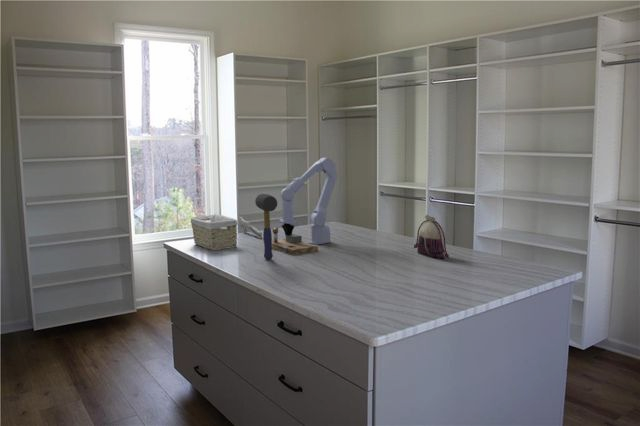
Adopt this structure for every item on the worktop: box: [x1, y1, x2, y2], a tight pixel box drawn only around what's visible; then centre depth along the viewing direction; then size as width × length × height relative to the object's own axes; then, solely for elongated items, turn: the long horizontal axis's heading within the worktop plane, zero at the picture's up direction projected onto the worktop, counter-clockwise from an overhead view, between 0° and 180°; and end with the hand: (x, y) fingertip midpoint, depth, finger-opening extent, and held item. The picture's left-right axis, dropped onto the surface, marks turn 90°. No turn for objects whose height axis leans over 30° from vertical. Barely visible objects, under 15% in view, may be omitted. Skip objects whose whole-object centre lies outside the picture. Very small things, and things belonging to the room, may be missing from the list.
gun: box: [238, 216, 263, 239], centre depth 314 cm, size 2×30×8 cm, turn 30°
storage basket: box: [190, 213, 239, 251], centre depth 285 cm, size 24×16×15 cm
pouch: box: [413, 214, 450, 260], centre depth 250 cm, size 25×8×19 cm, turn 33°
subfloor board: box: [271, 238, 319, 256], centre depth 274 cm, size 15×26×2 cm, turn 35°
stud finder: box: [285, 233, 303, 243], centre depth 279 cm, size 5×7×3 cm
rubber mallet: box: [254, 193, 278, 261], centre depth 250 cm, size 12×8×30 cm, turn 24°
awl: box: [271, 227, 279, 242], centre depth 278 cm, size 3×3×7 cm
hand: (288, 238), depth 283 cm, fingers closed
